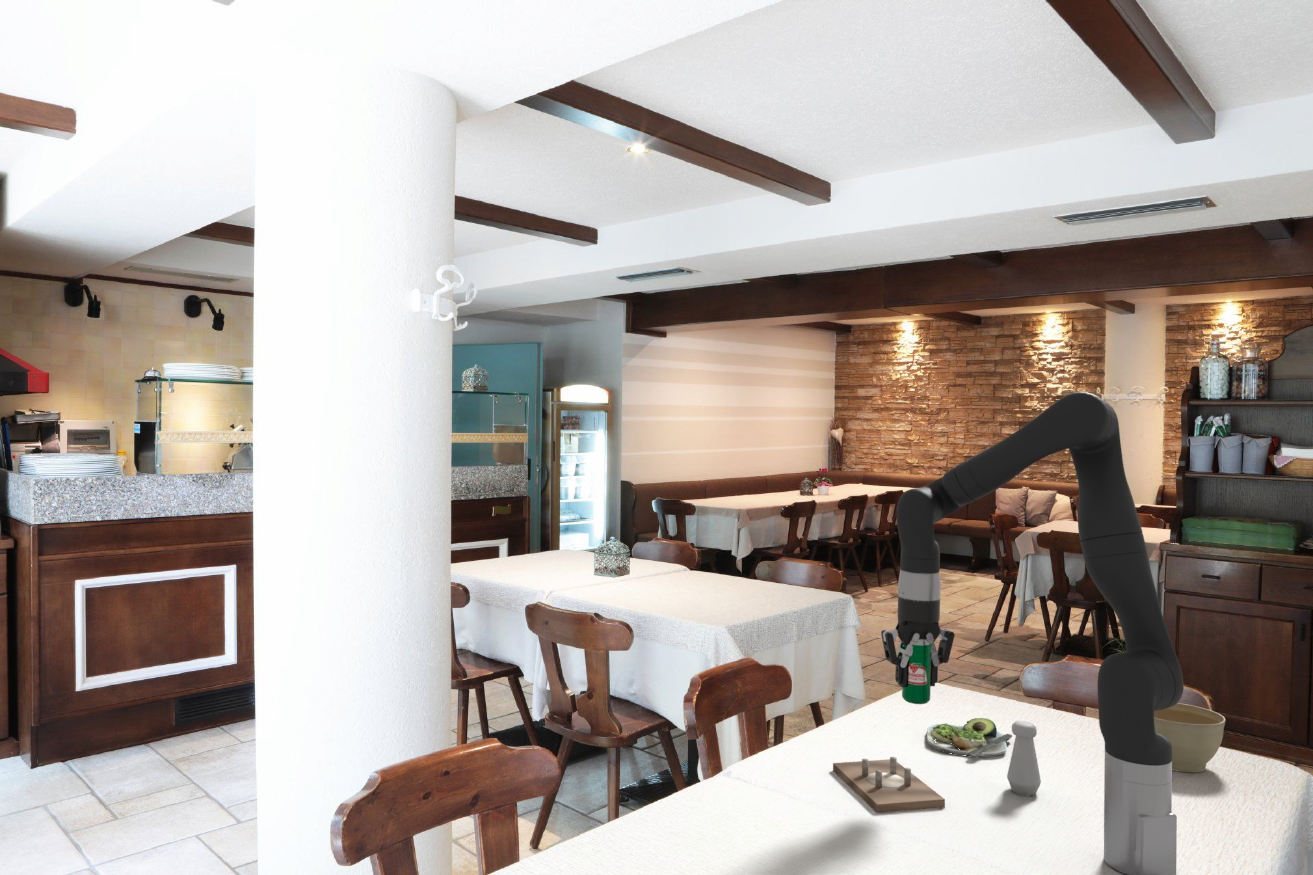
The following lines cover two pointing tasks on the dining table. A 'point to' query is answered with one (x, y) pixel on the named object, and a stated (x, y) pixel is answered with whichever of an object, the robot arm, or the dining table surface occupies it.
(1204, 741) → the planter bowl
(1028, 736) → the salt shaker
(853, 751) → the dining table surface
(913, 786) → the pin board
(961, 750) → the salad plate
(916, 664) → the soda can
